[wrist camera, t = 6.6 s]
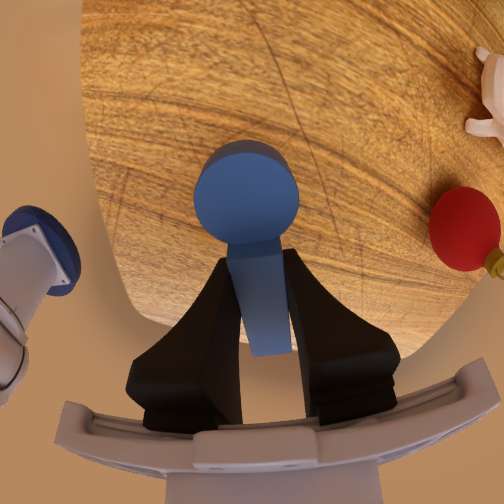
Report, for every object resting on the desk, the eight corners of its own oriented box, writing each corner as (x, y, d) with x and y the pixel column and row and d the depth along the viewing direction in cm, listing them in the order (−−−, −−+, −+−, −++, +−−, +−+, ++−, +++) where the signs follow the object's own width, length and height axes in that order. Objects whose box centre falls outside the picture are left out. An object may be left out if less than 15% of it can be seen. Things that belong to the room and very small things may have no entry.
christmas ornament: (471, 167, 17) (545, 226, 9) (465, 230, 21) (519, 295, 13) (414, 181, 19) (490, 255, 11) (413, 248, 23) (464, 327, 15)
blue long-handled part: (300, 311, 17) (308, 350, 14) (238, 319, 17) (237, 359, 15) (286, 133, 10) (299, 152, 8) (191, 149, 11) (174, 173, 8)
